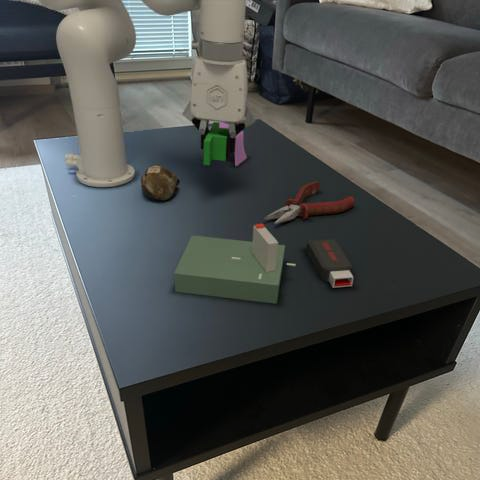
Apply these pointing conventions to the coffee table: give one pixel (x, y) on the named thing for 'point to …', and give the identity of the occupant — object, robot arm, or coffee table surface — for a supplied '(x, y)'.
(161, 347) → the coffee table surface
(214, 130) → the pipe clamp
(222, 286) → the green rectangular block
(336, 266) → the usb drive
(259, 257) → the square jaw plate
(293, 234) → the coffee table surface
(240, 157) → the toy chair
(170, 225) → the coffee table surface
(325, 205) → the pliers
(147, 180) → the brown rock
